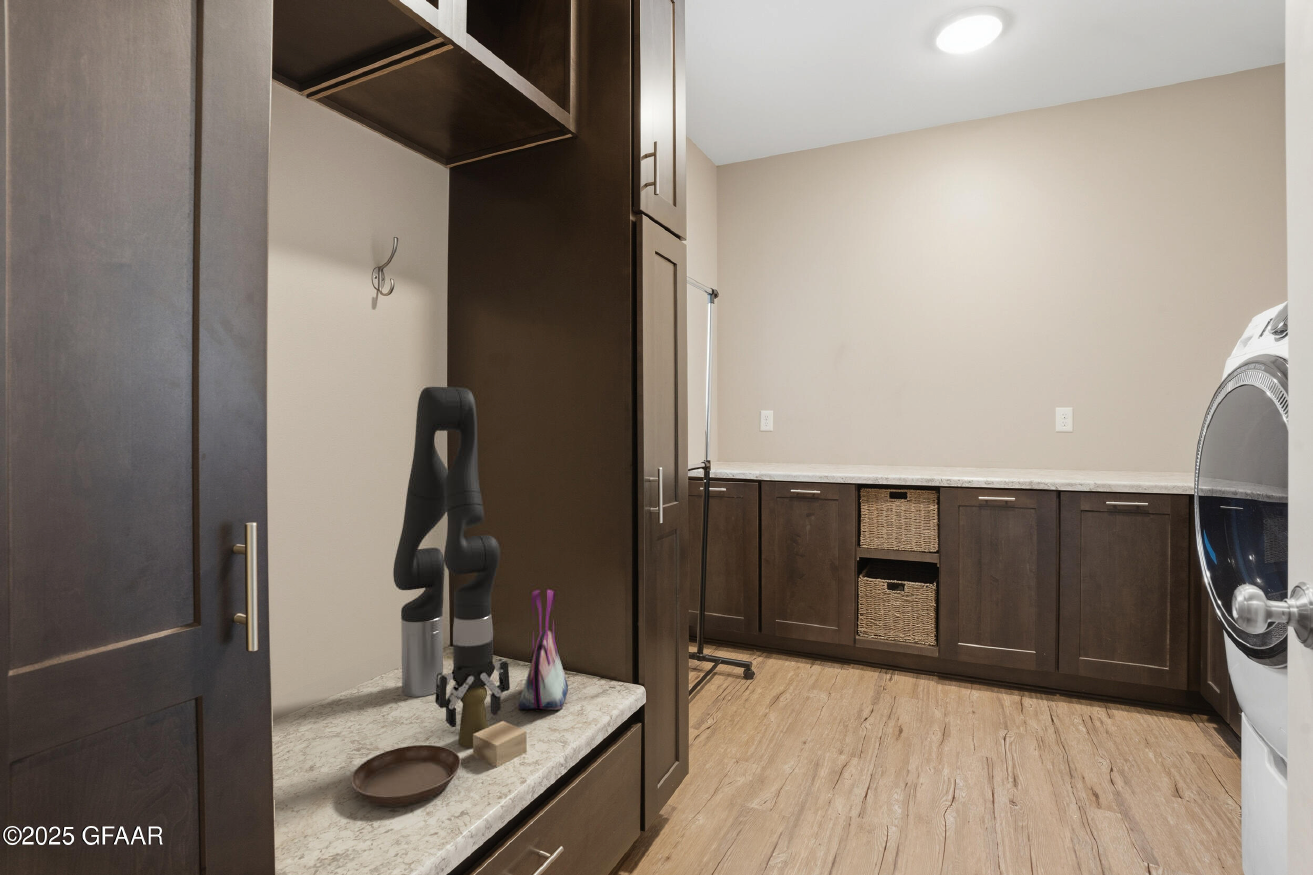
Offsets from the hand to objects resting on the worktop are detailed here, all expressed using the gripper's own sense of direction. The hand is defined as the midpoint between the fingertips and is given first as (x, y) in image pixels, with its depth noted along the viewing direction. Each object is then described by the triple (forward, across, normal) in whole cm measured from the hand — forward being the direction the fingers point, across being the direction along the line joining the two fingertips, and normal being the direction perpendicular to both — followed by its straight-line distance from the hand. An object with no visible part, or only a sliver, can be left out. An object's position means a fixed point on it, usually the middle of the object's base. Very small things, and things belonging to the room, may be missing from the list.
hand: (473, 719), depth 128 cm
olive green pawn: (+4, 0, 0) cm, 4 cm away
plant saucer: (+5, +15, +8) cm, 18 cm away
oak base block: (+4, -2, +8) cm, 9 cm away
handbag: (+4, -20, -9) cm, 22 cm away
